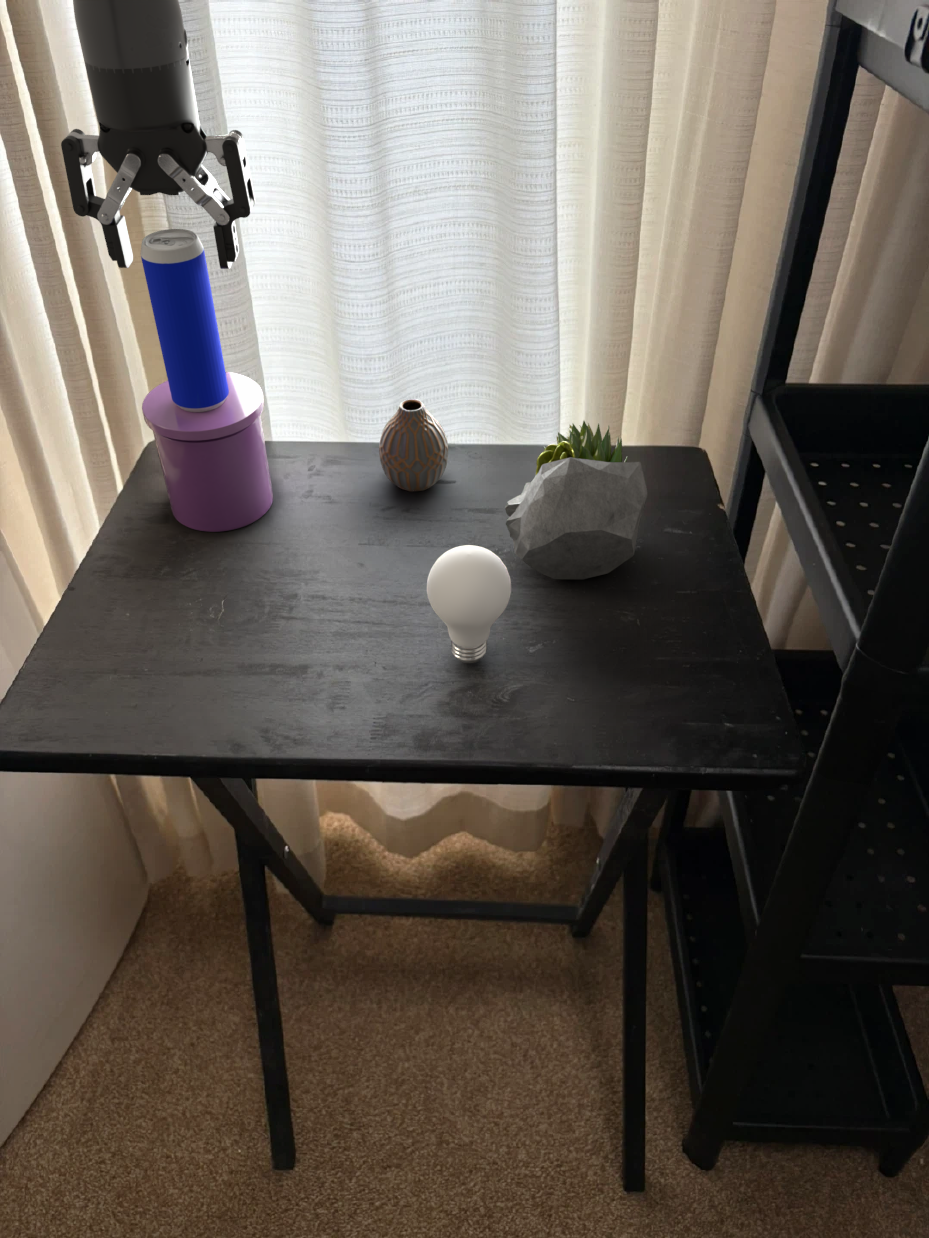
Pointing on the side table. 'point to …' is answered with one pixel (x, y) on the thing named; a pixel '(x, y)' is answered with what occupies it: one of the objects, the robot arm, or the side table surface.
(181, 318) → the beverage can
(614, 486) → the potted plant
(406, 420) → the vase
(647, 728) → the side table surface
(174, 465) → the jar
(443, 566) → the light bulb
